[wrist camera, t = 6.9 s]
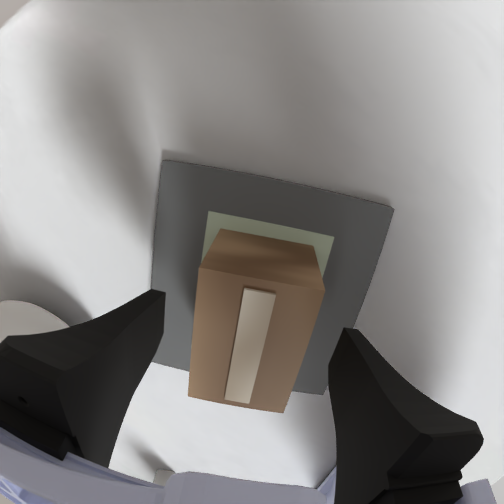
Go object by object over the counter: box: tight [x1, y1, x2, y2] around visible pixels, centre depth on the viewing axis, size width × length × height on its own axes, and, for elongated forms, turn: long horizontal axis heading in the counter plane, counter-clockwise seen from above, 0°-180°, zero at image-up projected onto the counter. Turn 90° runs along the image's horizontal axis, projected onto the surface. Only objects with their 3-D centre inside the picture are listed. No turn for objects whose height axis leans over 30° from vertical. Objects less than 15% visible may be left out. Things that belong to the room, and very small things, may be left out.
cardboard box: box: [188, 228, 325, 413], centre depth 13 cm, size 4×6×4 cm, turn 170°
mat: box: [151, 160, 394, 395], centre depth 15 cm, size 11×10×1 cm
